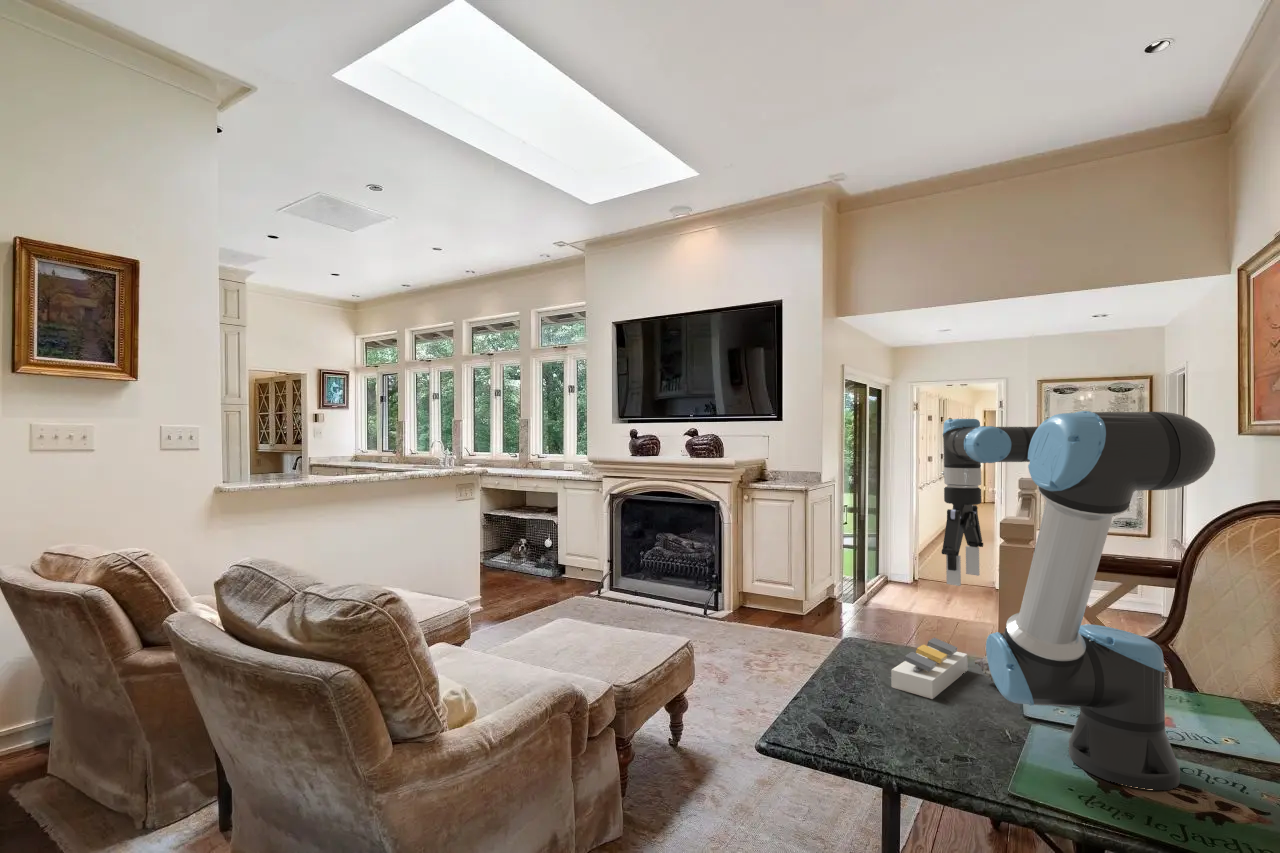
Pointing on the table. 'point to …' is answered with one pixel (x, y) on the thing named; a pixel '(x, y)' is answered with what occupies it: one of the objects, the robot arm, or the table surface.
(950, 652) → the block
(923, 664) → the block
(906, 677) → the white rocker switch box
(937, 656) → the amber rocker
